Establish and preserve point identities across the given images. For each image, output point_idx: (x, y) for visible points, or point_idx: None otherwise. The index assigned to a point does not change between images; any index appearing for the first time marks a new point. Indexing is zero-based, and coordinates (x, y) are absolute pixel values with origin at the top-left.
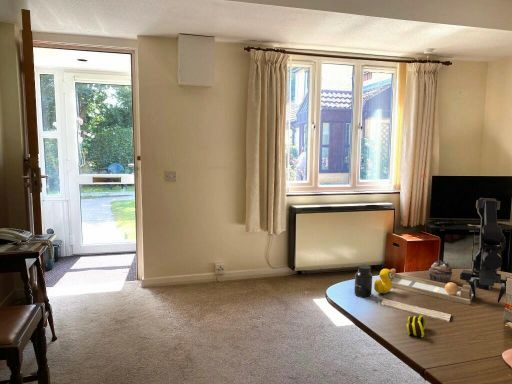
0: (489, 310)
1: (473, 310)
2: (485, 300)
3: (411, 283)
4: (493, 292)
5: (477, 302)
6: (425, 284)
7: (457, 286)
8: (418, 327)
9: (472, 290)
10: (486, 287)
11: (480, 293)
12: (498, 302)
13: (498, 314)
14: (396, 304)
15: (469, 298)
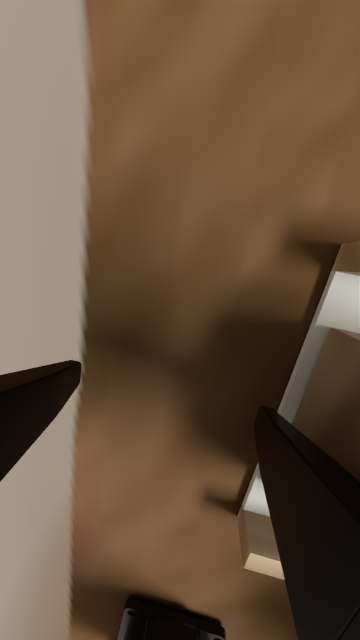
0: (164, 197)
1: (332, 94)
2: (170, 427)
3: None
4: (107, 573)
5: (241, 359)
6: None
7: None
8: None
9: (347, 473)
10: (139, 628)
11: (187, 541)
12: (71, 360)
13: (95, 123)
14: None
15: (328, 369)
